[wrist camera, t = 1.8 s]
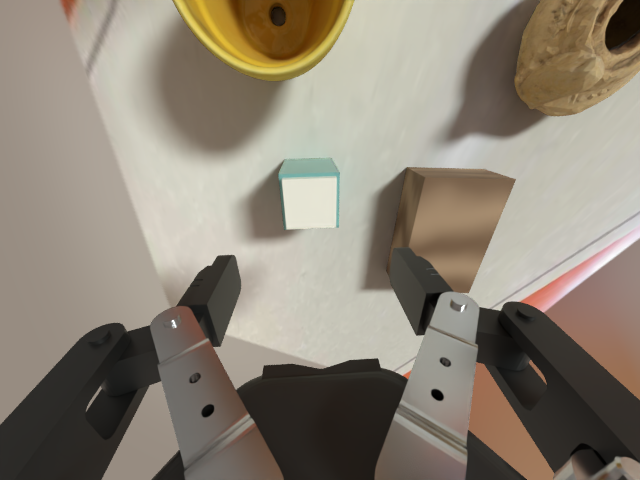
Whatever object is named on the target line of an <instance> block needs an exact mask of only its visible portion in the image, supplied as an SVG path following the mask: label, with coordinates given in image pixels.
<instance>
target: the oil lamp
mask: <svg viewBox="0 0 640 480" xmlns="http://www.w3.org/2000/svg"><path fill="white" fill-rule="evenodd" d="M639 71H640V0H541V1H540V2H539V4H538V5H537V7H536V9H535V11H534V12H533V14H532V16H531V18H530V20H529V22H528V24H527V25H526V28H525V30H524V32H523V35H522V41H521V45H520V50H519V56H518V61H517V72H516V75H515V78H514V83H515V88H516V91H517V94H518V96H519V97H520V99H521V100H522V101H524V102H525V103H526V104H527V105H528V106H529V108H530V109H537V110H539V111H541V112H543V113H544V114H546V115H549V116H566V115H572V114H577V113H580V112H582V111H584V110H585V109H587V108H589V107H591V106H593V105H595V104H597V103H599V102H601V101H602V100H604V99H606V98H608V97H609V96H611V95H612V94H613V93H615V92H616V91H618V90H619V89H620V88H622V87H623V86H624V85H625V84H627V83H628V82H629V81H630V80H631V79H632V78H633V77H634V76H635V75H636V74H637V73H638V72H639Z"/></svg>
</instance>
